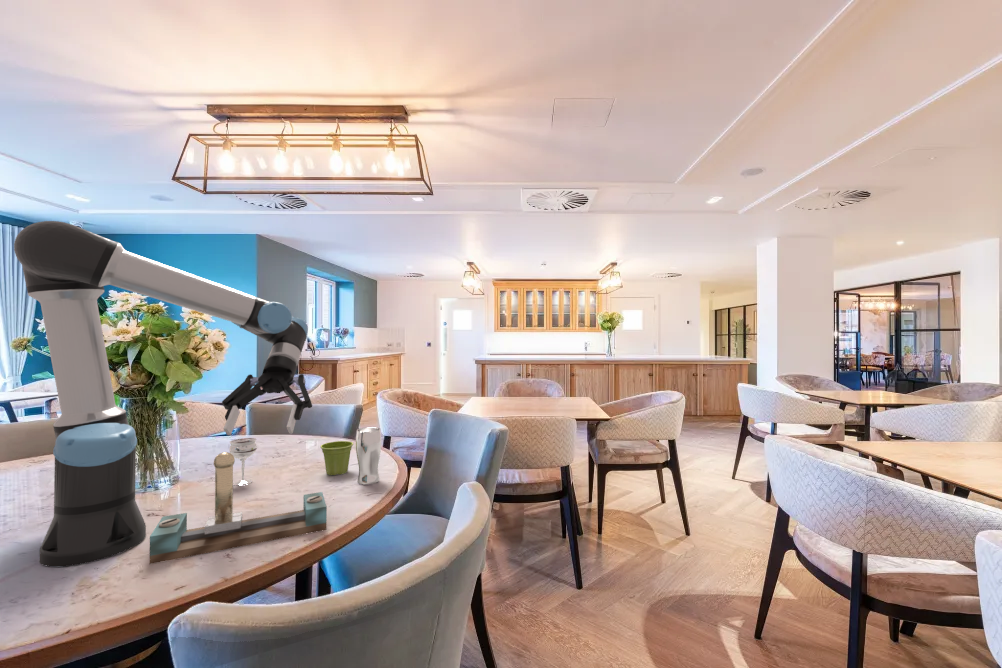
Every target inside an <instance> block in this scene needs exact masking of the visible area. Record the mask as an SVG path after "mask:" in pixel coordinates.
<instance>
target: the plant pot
mask: <svg viewBox="0 0 1002 668" xmlns="http://www.w3.org/2000/svg"><path fill="white" fill-rule="evenodd" d="M353 446H354V442H352V441H349V440H337V441H336V440H335V441H330V442H326V443H323V444H321V445H320V449H321V451H322V452H321V453H323V459H324V465H325V466H324V467H325V472H326V475H328V476H332V475H334V476H336V475H341V474H342V475H344V474H346V473H348V471H349V464H350V456H351V451H352V447H353Z"/></svg>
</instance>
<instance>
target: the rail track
mask: <svg viewBox="0 0 1002 668" xmlns="http://www.w3.org/2000/svg"><path fill="white" fill-rule="evenodd" d="M327 507H328V506H327V503H326V500H325V496H324V494H323V491H318V492H314V493H313V492H311V493H306V494H303V509H302V510H296V511H289V512H283V513H278V514H273V515H267V516H261V517H254V518H248V519H242V523H241V528H238V529H233V530H227V531H221V532H216V533H210V534H205V526H202V527H195V528H190V529H188V527H187V525H188V516H187V515H188V513H187V512H185V513H184V512H183V513H179V514H177V513H176V514H170V515H165V516H162V517H161V519H160V520H159V522H158V523H157V525H156V526H155V528H154V529H153V531H152V533H150V536H149V559H148V560H149V565H154V564H157V563H158V564H159V563H163V562H169V561H173V560H179V559H184V558H189V557H195V556H199V555H204V554H209V553H215V552H219V551H220V552H221V551H224V550H230V549H234V548H235V549H236V548H241V547H246V546H251V545H256V544H261V543H266V542H267V543H268V542H271V541H276V540H281V539H287V538H292V537H297V536H301V535H302V534H303V535H307V534H306V533H308V534H312V533H311V532H313V533H317V532H316V531H318V532H323V531H326V530H327V529H328V528H327V525H328V524H327V522H328V521H327ZM322 530H323V531H322Z"/></svg>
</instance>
